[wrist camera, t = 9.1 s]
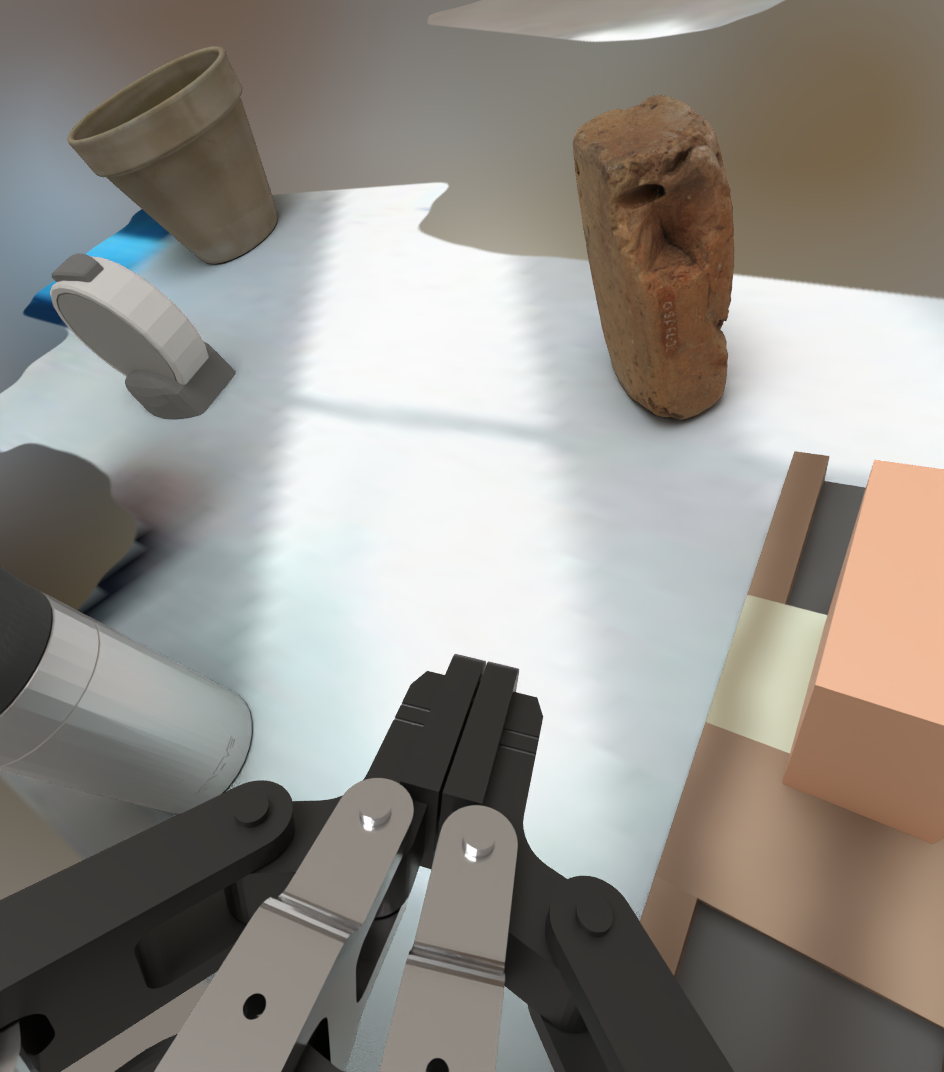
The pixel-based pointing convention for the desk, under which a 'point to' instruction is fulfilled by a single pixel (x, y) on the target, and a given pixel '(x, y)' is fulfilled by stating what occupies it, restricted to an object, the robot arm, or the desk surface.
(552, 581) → the desk surface
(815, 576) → the track
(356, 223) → the desk surface
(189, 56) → the plant pot
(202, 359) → the grey piece
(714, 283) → the block
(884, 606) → the block
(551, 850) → the desk surface
